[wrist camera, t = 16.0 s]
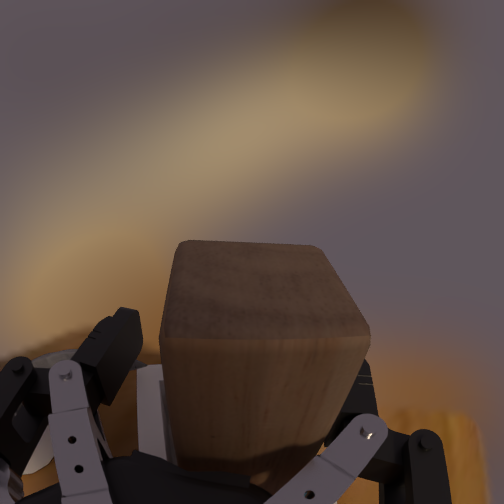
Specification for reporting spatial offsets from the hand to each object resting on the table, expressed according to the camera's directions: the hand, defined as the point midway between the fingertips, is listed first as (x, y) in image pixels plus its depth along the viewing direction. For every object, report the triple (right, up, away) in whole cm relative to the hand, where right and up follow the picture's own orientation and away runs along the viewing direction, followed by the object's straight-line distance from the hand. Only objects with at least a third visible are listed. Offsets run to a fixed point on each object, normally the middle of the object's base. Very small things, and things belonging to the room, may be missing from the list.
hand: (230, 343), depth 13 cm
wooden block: (-1, -12, +5) cm, 13 cm away
